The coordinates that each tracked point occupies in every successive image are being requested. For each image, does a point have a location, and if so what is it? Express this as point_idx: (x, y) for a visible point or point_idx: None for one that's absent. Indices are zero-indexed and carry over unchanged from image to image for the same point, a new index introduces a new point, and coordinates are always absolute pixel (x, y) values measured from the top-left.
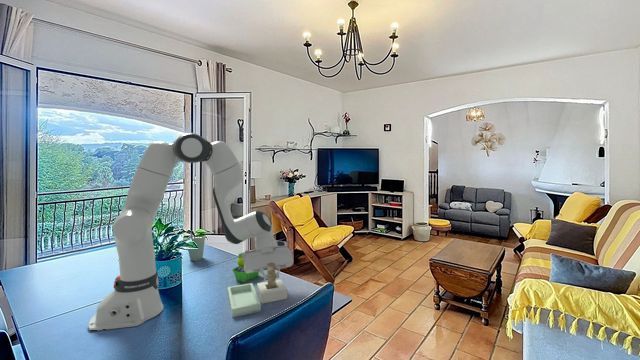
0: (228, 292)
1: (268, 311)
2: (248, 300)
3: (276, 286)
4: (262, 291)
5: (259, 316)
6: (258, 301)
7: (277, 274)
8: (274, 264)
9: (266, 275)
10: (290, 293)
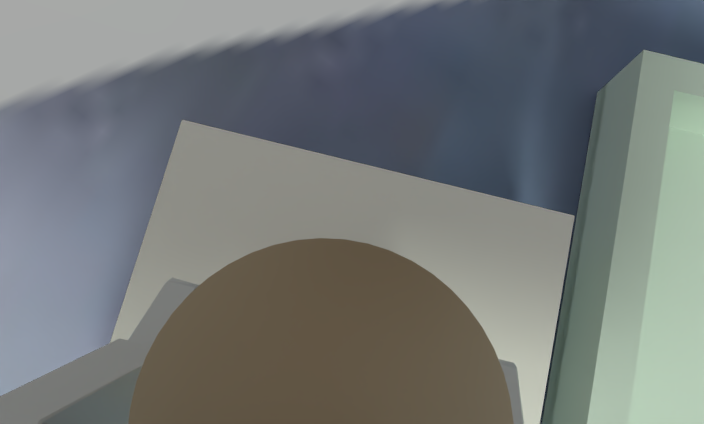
0: None
1: (526, 45)
2: (671, 377)
3: None
4: (537, 276)
5: (640, 15)
6: (650, 109)
7: None
8: (201, 309)
9: None
10: (101, 264)
